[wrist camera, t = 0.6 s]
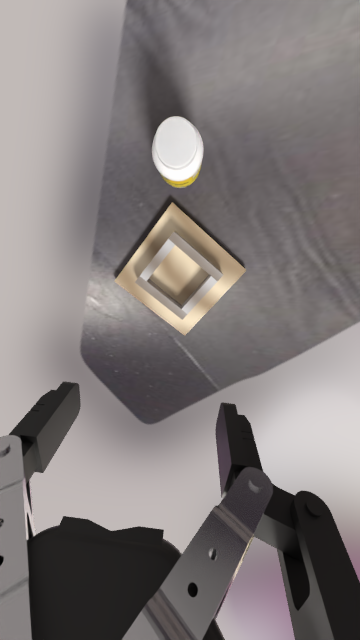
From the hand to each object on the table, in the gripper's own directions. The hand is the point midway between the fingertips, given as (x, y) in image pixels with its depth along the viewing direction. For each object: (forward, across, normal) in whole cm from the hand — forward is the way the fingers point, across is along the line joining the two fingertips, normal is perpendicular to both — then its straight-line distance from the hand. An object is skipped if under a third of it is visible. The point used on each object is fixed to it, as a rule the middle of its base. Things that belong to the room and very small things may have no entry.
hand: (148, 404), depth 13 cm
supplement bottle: (+26, +2, -16) cm, 31 cm away
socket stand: (+26, 0, -2) cm, 26 cm away
